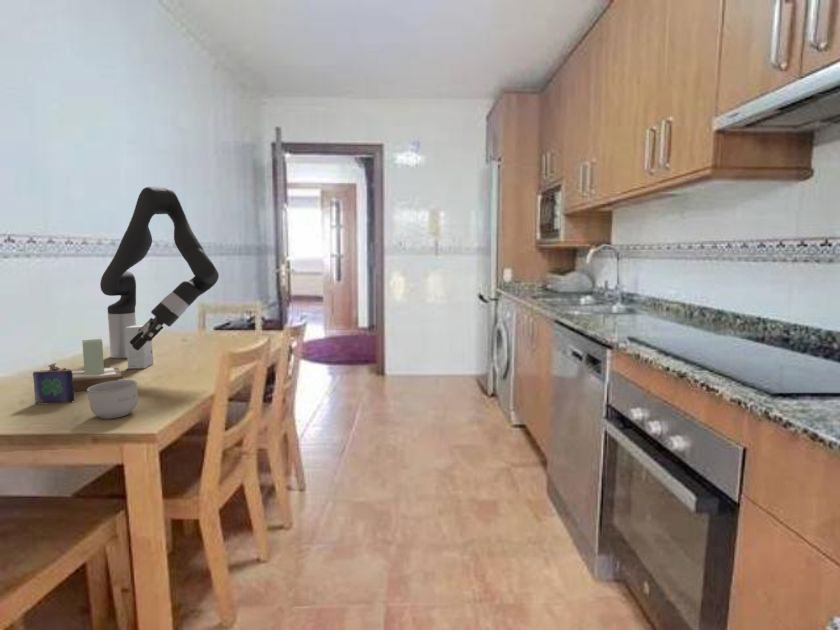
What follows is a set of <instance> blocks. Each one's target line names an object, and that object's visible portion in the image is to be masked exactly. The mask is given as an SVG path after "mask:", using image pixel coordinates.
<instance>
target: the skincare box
mask: <svg viewBox="0 0 840 630" xmlns="http://www.w3.org/2000/svg"><path fill="white" fill-rule="evenodd" d="M143 325H144V324H136V325H134V326H129V327H126V328H125V333H126V347H127V358H126V360H127V368H128V369H138V370H139V369H146V368H148V367H150V366H152V365H154V354H153V343H152V342H153V341H152V340H153V339H152V340H151V341H148V342H147V341H146V343H145V344H144V345H143V346H142V347H141V348H140V349H139V350H136V349H134V348H133V347H132V346H133V345H132V344H130V341H131V340H132V339H133V338H134V337H135V336H136V335H137V334H138V330H139V329H140V328H141V327H142V326H143ZM145 328H146V327H145Z"/></svg>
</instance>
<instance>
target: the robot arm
mask: <svg viewBox="0 0 840 630" xmlns="http://www.w3.org/2000/svg"><path fill="white" fill-rule="evenodd" d="M154 215H167V216H168V218H169V219H170V220H171V221H172V223H173V241H174V244H175V246H176V248H177V250H178V251H179V253H180V255H181V256H182V258H183V259H184V260H185V262H186V263H187V265H188V267H189V268H190V270H191V272H192V274H193V275H194V276H193V277H192V278H191V279H189V280H188V281H182V282H181V283H179V284H178V285H177V287H176V288H174V289H173V290H172V291H171V292H170V293H169V294H167V295H166V296H165V297H164V298H163V299H162V300H161V301H159V303H158V304H157V305H156V306H155V307H154V308H153V309H152V310H151V312H150V313H151V314H152V315H153V316H154V318H152V317H151V318H149V320H147V322H145V323H144V324H142V325H143V326H142V327H141V328H140V329H139V330H138V334H137V335H136V336H135V337H134V338H133V339H132V340H131V341H130V344H132V345H133V346H132V347H133V348H134V349H136V350H139V349H140V348H141V347H142V346H143V345H144V344H145V343H146V341H147V342H148V341H151V340H153V339H154V338H155V337H156V336H157V335H158V334H159V333H160V332H161V331H162V330H163V329H164V326H163V325H166V326H167V327H171V326H173V324H174V323H175V322H176V321H177V320H178V319H179V318H180V317H181V316H182V315H183V314H185V312H186V311H187V309H188V308H190V306H191V305H192V304H193V303H194V302H195V301H196V300H197V298H198V297H200V296H201V295H202V294H205V293H206V292H207V291H209V290H210V289H212V288H213V287H214V286H215V285H216V283H217V282H218V281H219V278H220V277H219V276H220V275H219V272H218V270H217V268H216V267H215V265H214V263H213V262H212V260H211V259H210V258H209V256H208V255H207V254H206V252H205V250H204V248H203V247H202V244H201V243H200V242H199V240H198V238H197V237H196V235H195V234H194V232H193V230H192V227H191V226H190V224H189V222H188V219H187V217H186V214H185V211H184V210H183V207H182V205H181V202H180V200H179V198H178V196H177V195H176V192H175V191H174V190H173V189H171V188H169V187H164V186H147V187H144V188H143V189H142V190H141V192H140V193H139V195H138V198H137V201H136V204H135V207H134V210H133V213H132V217H131V219H130V221H129V224H128V226H127V228H126V231H125V232H124V235H123V236H122V238H121V241H120V242H119V245H118V248H117V250H116V253H115V254H114V256H113V258H112V260H111V262H110V263H109V264H108V266H107V268H106V269H105V271H104V272H103V274H102V276H101V278H100V283H99V285H100V290H101V292H102V293H103V294H104V295H105V296H111V297H114V296H115V297H116V296H120V298H119V300H117V301H116V302H114V303H112V304H109V305H108V307H107V320H108V336H109V337H108V338H109V351H110V352H109V354H110V358H111V359H127V347H126V333H125V328H126V327H129V326H134V325H137V321H136V306H137V283H136V282H137V281H136V278H135V275H134V274H133V272H131V271H128V270H130V269H131V268H133V267H134V266H136V264H138V263H139V262H141V261H143V259H145V257H146V256H147V254H148V252H149V250H150V248H151V247H152V243H153V236H152V233H151V231H150V228H149V225H150V222H151V220H152V218H153V217H154ZM145 327H146V328H145Z"/></svg>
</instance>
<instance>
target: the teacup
mask: <svg viewBox="0 0 840 630" xmlns="http://www.w3.org/2000/svg"><path fill="white" fill-rule="evenodd" d="M137 384H138V382H137V381H136V380H133V379H124V378H123V379H119V380H116V381H109V382H104V383H100V384H96V385H93V386H91V387H89V388H88V389H87V390H86V392H87V395H88V396H87V397H88V401H89V407H90V411H91V412H92V414H94V415H95V416H97V417H99V418H101V419H107V420H109V419H110V420H111V419H118V418H121V417H124V416H127V415H130V414H131V413H132V411H134V410H135V409H136V407H137V405H138V402H139V396H138V385H137Z"/></svg>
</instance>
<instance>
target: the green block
mask: <svg viewBox="0 0 840 630" xmlns="http://www.w3.org/2000/svg"><path fill="white" fill-rule="evenodd" d="M82 352H83V353H82V354H83V357H82V358H83V368H84V369H83V370H84V372H85V375H92V374H101V373H104V368H105V366H104V363H105V362H104V349H103V340H102V338H96V339H94V338H93V339H83V340H82Z"/></svg>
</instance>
